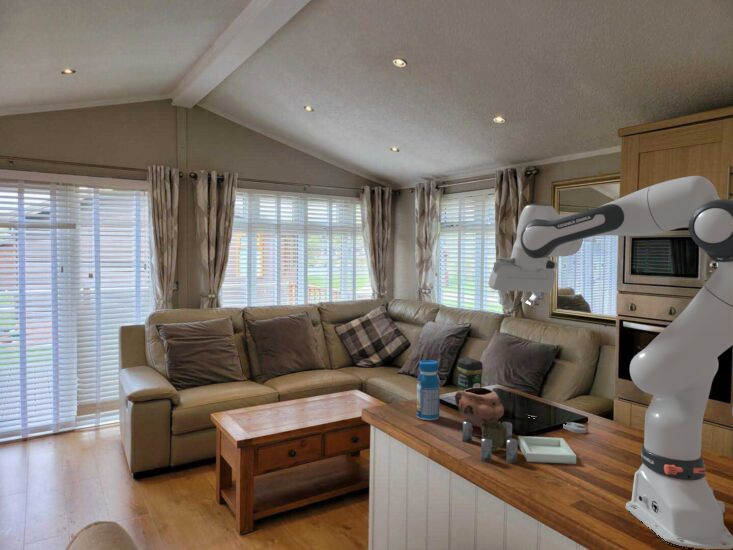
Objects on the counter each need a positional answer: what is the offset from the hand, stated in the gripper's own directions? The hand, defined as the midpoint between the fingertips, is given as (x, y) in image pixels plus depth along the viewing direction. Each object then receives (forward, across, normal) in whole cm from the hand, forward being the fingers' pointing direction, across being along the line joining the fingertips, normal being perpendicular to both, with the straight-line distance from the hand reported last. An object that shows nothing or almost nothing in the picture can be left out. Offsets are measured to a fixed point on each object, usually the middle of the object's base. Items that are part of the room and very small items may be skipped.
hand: (516, 304), depth 147 cm
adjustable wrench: (+46, +30, +6) cm, 55 cm away
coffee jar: (+52, +13, +31) cm, 62 cm away
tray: (+41, +10, -15) cm, 45 cm away
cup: (+43, -3, -8) cm, 44 cm away
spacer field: (+43, -4, -8) cm, 44 cm away
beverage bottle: (+52, -8, +24) cm, 57 cm away
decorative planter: (+47, +1, +7) cm, 47 cm away
